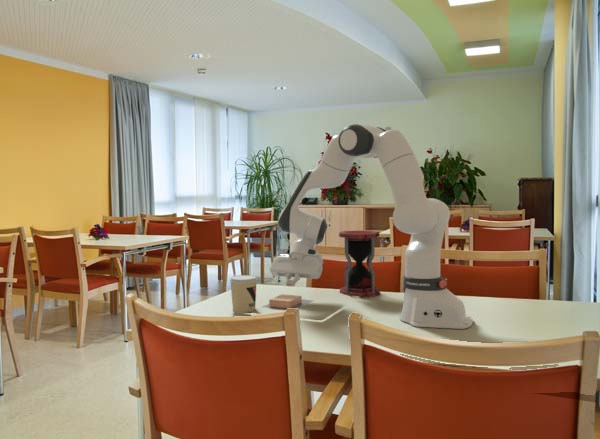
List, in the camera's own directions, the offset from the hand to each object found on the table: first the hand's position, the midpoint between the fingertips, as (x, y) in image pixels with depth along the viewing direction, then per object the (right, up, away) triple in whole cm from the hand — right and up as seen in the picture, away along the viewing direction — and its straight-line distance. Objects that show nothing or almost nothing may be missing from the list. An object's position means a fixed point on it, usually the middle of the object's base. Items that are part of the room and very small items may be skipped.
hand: (289, 285), depth 187 cm
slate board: (0, -7, 0) cm, 7 cm away
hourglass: (+28, -6, +19) cm, 34 cm away
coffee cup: (-16, -8, -7) cm, 19 cm away
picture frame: (+1, -5, +2) cm, 5 cm away
